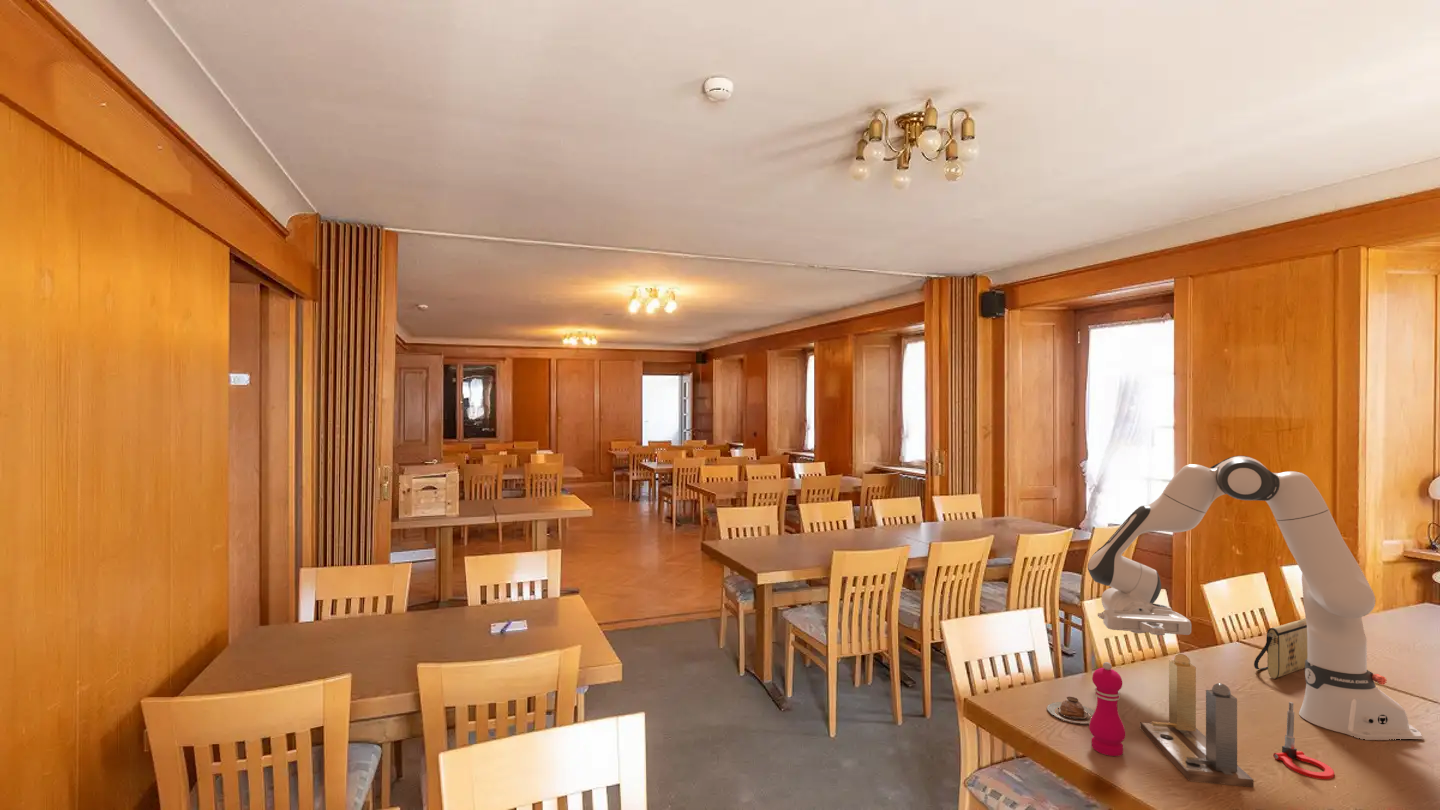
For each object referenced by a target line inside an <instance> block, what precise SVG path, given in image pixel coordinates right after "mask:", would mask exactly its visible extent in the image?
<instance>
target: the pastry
mask: <svg viewBox="0 0 1440 810" xmlns="http://www.w3.org/2000/svg"><path fill="white" fill-rule="evenodd" d="M1059 707H1060V709H1058V712H1059V714H1060V715H1061V716H1060V715H1059V714H1058V713H1057V712H1056V713H1057V714H1058V715H1057V714H1056V713H1055V709H1056V708H1059ZM1046 709H1047V711H1048V713H1050V714H1051V715H1052V716H1053V715H1054V716H1053V717H1056V718H1057V719H1058V718H1059V719H1058V720H1060V719H1061V720H1060V721H1062V720H1064V721H1063V722H1066V721H1069V722H1068V723H1070V722H1072V723H1071V724H1074V723H1080V724H1081V725H1090V721H1089V720H1087V721H1075V720H1071V719H1073V718H1078V719H1077V720H1084V719H1086V718H1087V717H1088V714H1087V713H1089V714H1090V715H1091V717H1092V716H1093V714H1094V712H1095V710H1094V709H1092V708H1091V707H1088V706H1085V705H1082V703H1081V702H1080V700H1079V699H1078V698H1077V697H1074V696H1066V699H1063V701H1057V702H1052V703H1050V704H1048V705H1047V707H1046ZM1085 711H1086V712H1087V713H1086V712H1085ZM1062 715H1063V716H1062ZM1064 715H1065V717H1064ZM1067 717H1071V718H1070V719H1069V718H1067ZM1091 717H1090V718H1091ZM1080 724H1079V725H1080Z"/></svg>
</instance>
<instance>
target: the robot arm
mask: <svg viewBox="0 0 1440 810" xmlns="http://www.w3.org/2000/svg"><path fill="white" fill-rule="evenodd" d="M1223 495H1228V496H1229V497H1231V498H1233V499H1236V500H1240V501H1265V502H1266V503H1267V506H1268V507H1269V508H1270V510H1271V513H1272V515H1273V517H1274V520H1275V522H1276V524H1277V526H1278V528H1279V530H1280V532H1281V534H1282V537H1283V539H1284V541H1285V543H1286V546H1287V548H1288V549H1289V551H1290V553H1291V555H1292V556H1293V558H1294V560H1295V562H1296V563H1297V566H1298V567H1299V569H1300V571H1301V586H1302V587H1301V588H1302V598H1303V599H1302V600H1303V607H1304V609H1303V610H1304V616H1305V618H1306V623H1307V659H1306V660H1305V668H1304V676H1305V677H1304V678H1305V683H1306V684H1305V690H1304V696H1303V700H1302V704H1301V706H1300V709H1299V711H1298V714H1299V716H1300V717H1301V718H1302V719H1304V720H1306V721H1307V722H1309V723H1311V724H1313V725H1315V726H1318V727H1320V728H1323V729H1326V730H1330V731H1334V732H1337V733H1341V734H1344V735H1345V734H1346V735H1348V736H1349V737H1350V736H1351V737H1353V736H1354V738H1357V739H1359V738H1360V739H1359V740H1363V739H1365V740H1364V741H1375V740H1376V741H1397V740H1396V739H1400V740H1399V741H1402V740H1401V739H1422V740H1423V735H1422V733H1421V731H1420V730H1418V729H1417V728H1416V727H1414V726H1413V725H1412V724H1410V723H1409V720H1408V719H1409V718H1408V715H1407V712H1406V710H1405V709H1404V707H1403V706H1402V705H1401V704H1400V703H1399V702H1398V701H1395V700H1394V699H1393V697H1390V696H1389V695H1387V694H1386V693H1385V692H1384V691H1382V690H1381V689H1380V688H1378V687H1377V686H1376V683H1378V684H1379V685H1383V686H1384V685H1386V684H1387V681H1388V680H1387V678H1386V677H1385V676H1383V675H1380V674H1378V673H1373V672H1372V671H1370V670H1368V662H1367V661H1368V660H1367V659H1368V658H1367V657H1368V653H1367V652H1368V651H1367V649H1368V647H1367V646H1368V645H1367V644H1368V641H1367V636H1366V635H1367V634H1366V633H1365V628H1364V623H1363V618H1364V617H1365V616H1368V615H1369V614H1370V613H1371V612H1373V610H1374V608H1375V606H1376V596H1375V593H1374V591H1373V589H1372V587H1371V585H1370V583H1369V581H1368V579H1367V578H1366V576H1365V574H1364V572H1363V571H1362V568H1361V567H1360V565H1359V563H1358V561H1357V560H1356V558H1355V557H1354V555H1353V553H1352V552H1351V550H1350V548H1349V546H1348V545H1347V543H1346V541H1345V540H1344V538H1343V536H1342V534H1341V531H1340V530H1339V528H1338V525H1337V524H1336V522H1335V519H1334V517H1333V515H1332V513H1331V510H1330V509H1329V507H1328V504H1327V502H1326V501H1325V498H1324V497H1323V496H1322V494H1321V493H1320V491H1319V489H1318V488H1317V487H1316V485H1315V484H1314V482H1313V481H1312V480H1311V478H1310V477H1309V476H1308V475H1307V474H1304V473H1303V472H1298V471H1292V470H1289V471H1282V472H1272V471H1270V470H1269V469H1268V468H1267V467H1266V466H1265V465H1264V464H1263V463H1261V461H1259V460H1257V459H1255V458H1253V457H1251V456H1247V455H1235V456H1234V455H1233V456H1231V457H1228V458H1225V459H1224V460H1222V461H1220V462H1218V463H1216V464H1214V465H1212V466H1211V467H1207V466H1204V465H1201V464H1198V463H1197V464H1196V463H1194V464H1193V463H1189V464H1186V465H1184V466H1183V467H1181V468H1180V469H1179V470H1178V471H1177V472H1176V474H1174V476H1173V477H1172V479H1170V480H1169V482H1168V484H1167V485H1166V486H1165V488H1164V490H1163V492H1162V493H1161V494H1160V496H1159V497H1158V498H1157V499H1155V500H1154V501H1153V502H1151V503H1149V504H1148V505H1141V506H1138V508H1136V509H1135V510H1134V511H1133V512H1132V513H1131V514H1130V515H1129V516H1128V517H1127V518H1126V520H1125V519H1124V521H1123V523H1121V525H1120V526H1119V527H1118V528H1117V529H1116V531H1115V532H1114V533H1113V534H1112V535H1111V536H1110V537H1109V539H1108V540H1107V541H1106V542H1105V543H1104V544H1103V545H1102V546H1101V547H1100V548H1098V549H1097V550H1096V551H1095V552H1094V553H1093V554H1092V555H1091V556H1090V559H1089V561H1088V563H1087V570H1088V573H1089V575H1090V577H1091V578H1092V580H1093V582H1095V583H1098V584H1101V585H1104V586H1107V587H1109V588H1107V589H1105V590H1104V591H1103V592H1102V595H1101V599H1100V600H1101V605H1102V607H1103V609H1104V610H1103V611H1102V612H1098V613H1097V617H1098V618H1099V619H1101V620H1103V621H1102V623H1103V625H1105V627H1106V628H1107V629H1109V630H1113V631H1124V632H1128V631H1129V632H1131V633H1135V634H1144V633H1148V634H1151V635H1158V636H1165V634H1168V635H1169V634H1170V635H1185V636H1189V635H1191V634H1192V622H1191V620H1190V619H1188V618H1187V617H1186V616H1184V615H1183V614H1181V613H1179V612H1176V611H1174V610H1173V609H1172V607H1171V606H1168V605H1163V604H1158V603H1155V602H1156V601H1157V599H1158V598H1159V595H1160V594H1161V590H1162V581H1161V577H1160V575H1159V573H1158V571H1157V570H1156V569H1154V568H1152V567H1150V566H1148V565H1145V564H1144V563H1141V562H1138V561H1135V560H1133V559H1130V558H1128V557H1126V556H1123V554H1124V553H1125V551H1126V550H1128V549H1129V548H1130V546H1131V545H1132V544H1133V543H1134V542H1135V540H1136V539H1137V538H1138V537H1139V536H1140V535H1143V534H1145V533H1149V532H1164V533H1165V532H1166V533H1183V532H1188V531H1191V530H1193V529H1195V528H1196V527H1197V526H1198V525H1200V522H1201V521H1202V520H1203V518H1204V516H1205V515H1206V513H1207V512H1208V510H1209V508H1210V507H1211V506H1212V504H1213V502H1214V501H1215V500H1216V499H1217V498H1219V497H1221V496H1223ZM1389 739H1390V740H1389ZM1391 739H1393V740H1391ZM1394 739H1395V740H1394Z"/></svg>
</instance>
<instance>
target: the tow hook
mask: <svg viewBox="0 0 1440 810" xmlns="http://www.w3.org/2000/svg"><path fill="white" fill-rule="evenodd" d="M1286 715H1287V716H1286V734H1285V735H1284V745H1282V746H1281V752H1274V753H1273V758H1274V759H1275V760H1276V761H1282V762H1283V764H1284V765H1285V766H1286V767H1287V768H1288V769H1290V770H1292V771H1293V772H1295V773H1298V774H1301V775H1302V776H1306V777H1310V778H1314V779H1319V780H1331V779H1333V778H1334V776H1335V771H1334V769H1333V768H1332V767H1331V766H1329V765H1328V764H1327V763H1325V762H1323V761H1321V760H1318V759H1316V758H1313V757H1309V756H1308V755H1306V754H1305V753H1304V752H1303V751H1301V750H1298V749H1297V748H1295V740H1296V739H1295V737H1294V734H1295V733H1294V730H1295V728H1294V727H1295V712H1294V702H1292V701H1289V702H1288V710H1287V713H1286ZM1296 759H1297V760H1298V761H1300V762H1305V763H1308V764H1311V765H1314V766H1316V767H1318V768H1320V769H1321V770H1322V771H1312V770H1309V769H1305V768H1303V767H1300V766H1298V765H1296V763H1294V761H1293V760H1296ZM1330 778H1331V779H1330Z"/></svg>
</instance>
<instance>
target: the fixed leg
mask: <svg viewBox="0 0 1440 810" xmlns="http://www.w3.org/2000/svg"><path fill="white" fill-rule="evenodd" d="M1231 692H1232V691H1231V690H1230V688H1229V687H1228V686H1227V685H1226V684H1224V683H1221V682H1219V683H1215V684H1213V685H1212V687H1211V689H1205V736H1206V759H1204V758H1193V757H1186V761H1187V762H1188V763H1194V764H1205V765H1211V766H1212V767H1213V768H1214V769H1215V770H1216V771H1224V772H1235V773H1237V765H1238V698H1237V697H1236V696H1234V695H1232V694H1231Z"/></svg>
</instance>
